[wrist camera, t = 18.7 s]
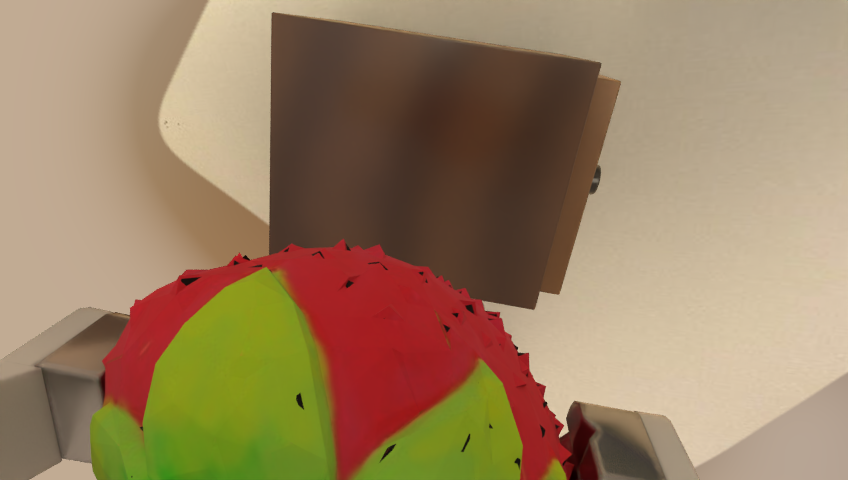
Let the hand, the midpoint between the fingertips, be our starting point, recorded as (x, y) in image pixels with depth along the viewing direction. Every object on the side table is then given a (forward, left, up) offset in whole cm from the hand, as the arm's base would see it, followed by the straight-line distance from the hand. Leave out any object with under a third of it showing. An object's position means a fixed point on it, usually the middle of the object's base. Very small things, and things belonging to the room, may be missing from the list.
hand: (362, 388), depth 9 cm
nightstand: (0, -1, -24) cm, 24 cm away
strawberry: (0, 0, -4) cm, 4 cm away
